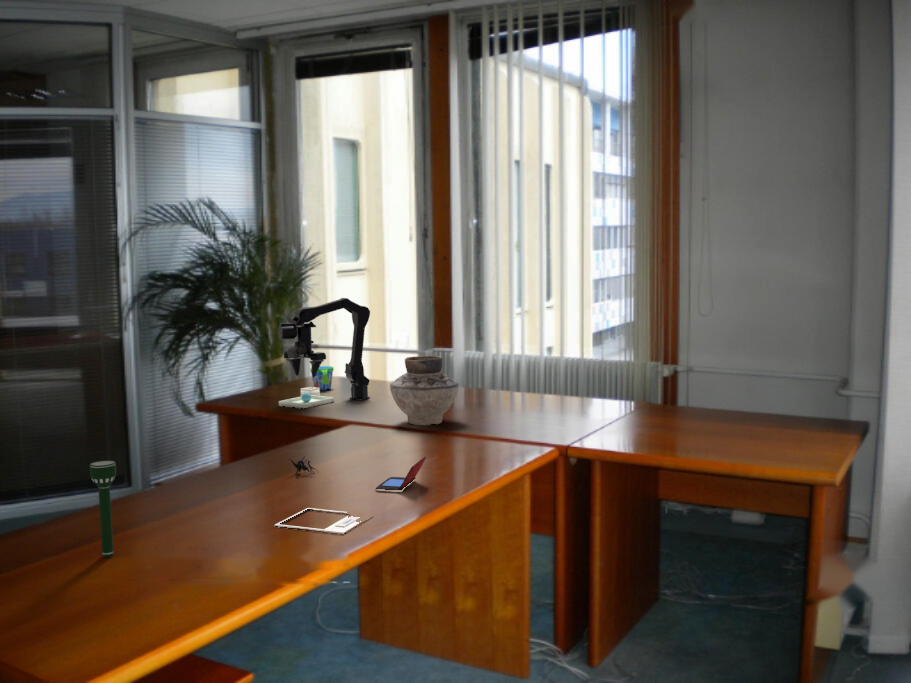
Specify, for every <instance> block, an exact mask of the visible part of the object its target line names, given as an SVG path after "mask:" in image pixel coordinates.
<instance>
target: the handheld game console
mask: <svg viewBox="0 0 911 683" xmlns="http://www.w3.org/2000/svg"><path fill="white" fill-rule="evenodd" d="M426 459H427V457H426V456H424V457H422V458H421V459H420V460H418V462H416V463H415V464H414V465H412V466H411V467H410V469H409V470H408V472H407V475H406V476H405V477H403V476H401V477H400V476H390V477H387V479H385V480H384V481H383V482H382V483H380V484H379V485H378V486H376V487H375V490H376V489H385V490H402V489H403V488H404V487H406V486H407V485H408V484H409V483H411V482H412V481H413V480H414V479H416V477H417V475H418V473H419V471H420V470H421V468H422V467H423V464H424V463H425V461H426Z"/></svg>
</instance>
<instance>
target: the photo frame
mask: <svg viewBox="0 0 911 683" xmlns="http://www.w3.org/2000/svg"><path fill="white" fill-rule="evenodd" d="M307 509H313V510H322V511H330V512H341V513H342V512H343V513H347V512H348V511H341V510H332V509H331V510H330V509H323V508H313V507H307V508H304V509H303V510H301V511H299V512H296V513H295V514H293V515H291V516H289V517H287V518H285V519H283V520H281V521H278V522H277V523H275V524H274V527H275V526H278V527H277V528H280V527H287V528H286V529H288V528H300V529H309V530H316V531H324V532H332V533H342V534H344V533H345V532H347V531H348V530H350V529H351V528H353V527H354V526H356V525H357V524H359V522H356V520H357V519H359V518H360V517H353V516H351V517H349V518H348V516H349V515H346V516H345V517H344V518H341V519H339V520H338V521H336V522H335V523H332V524H331V525H330V526H328V527H326V528H324V529H323V528H314V527H306V526H297V525H287V524H283V523H285V522H287V521H289V520H291V519H292V517H293V518H295V517H297V516H298V514H299V515H300V513H301V514H302V513H304V512H306V511H308V510H307ZM305 510H306V511H305ZM303 511H304V512H303ZM296 515H297V516H296ZM294 516H295V517H294ZM290 518H291V519H290ZM288 519H289V520H288ZM286 520H287V521H286ZM284 521H285V522H284ZM282 522H283V523H282ZM360 522H361V521H360ZM280 523H281V524H280ZM344 535H345V534H344Z"/></svg>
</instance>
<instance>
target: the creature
mask: <svg viewBox="0 0 911 683" xmlns="http://www.w3.org/2000/svg"><path fill="white" fill-rule="evenodd" d="M305 457H306V455H304V456H303V458H302V459H300V460H298V462H297V463H296V462H294V460H292V459H290V458H288V460H289V461H290V462H292V464H293V466H294V468H296V472H295V476H296V477H298V475H297V473H298V474H299V473H301V470H302V471H303V472H305V471H307V473H312V474H311V475H312V476H313V475H315V471H317V472H319V470H317V469H316V468H315V467H313V466H311V464H310V463H311V460H308V459H306V460H305V461H303V460H304V459H305ZM305 463H307V464H305ZM307 465H308V466H307ZM314 470H315V471H314Z"/></svg>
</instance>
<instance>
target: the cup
mask: <svg viewBox="0 0 911 683" xmlns="http://www.w3.org/2000/svg"><path fill="white" fill-rule="evenodd" d="M320 392H321V390H320V388H316V387H314V386H313V387H312V386H306V387H302V388H300V397H301V396H302V394H304V393H309V394H310V395H315V396H321V394H320Z"/></svg>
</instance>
